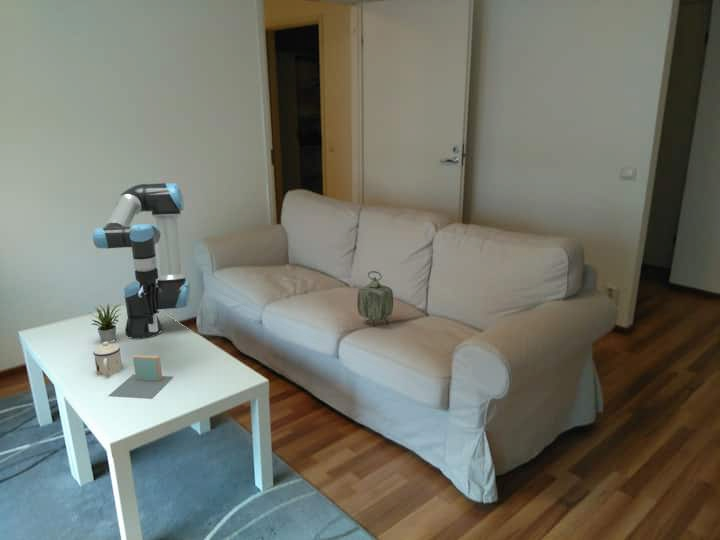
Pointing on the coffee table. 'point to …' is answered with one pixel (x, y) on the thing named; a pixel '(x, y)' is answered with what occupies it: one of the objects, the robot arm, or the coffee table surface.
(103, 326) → the house plant
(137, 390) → the mat
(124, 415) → the coffee table surface
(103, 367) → the teacup with lid
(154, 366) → the tile
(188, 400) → the coffee table surface
